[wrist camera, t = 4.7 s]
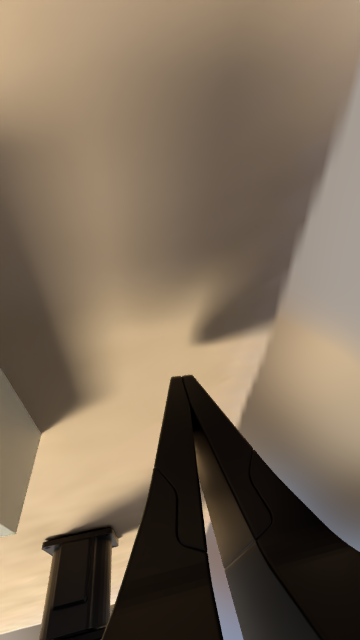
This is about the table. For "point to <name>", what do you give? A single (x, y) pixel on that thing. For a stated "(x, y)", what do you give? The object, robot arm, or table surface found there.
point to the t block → (14, 455)
